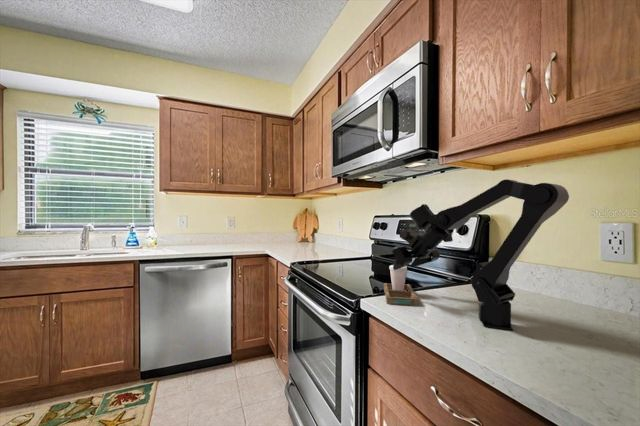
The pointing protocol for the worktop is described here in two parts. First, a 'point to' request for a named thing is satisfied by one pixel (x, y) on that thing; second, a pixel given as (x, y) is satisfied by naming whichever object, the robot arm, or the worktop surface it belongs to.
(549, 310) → the worktop surface
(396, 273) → the smoothie
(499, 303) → the robot arm
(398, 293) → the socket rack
